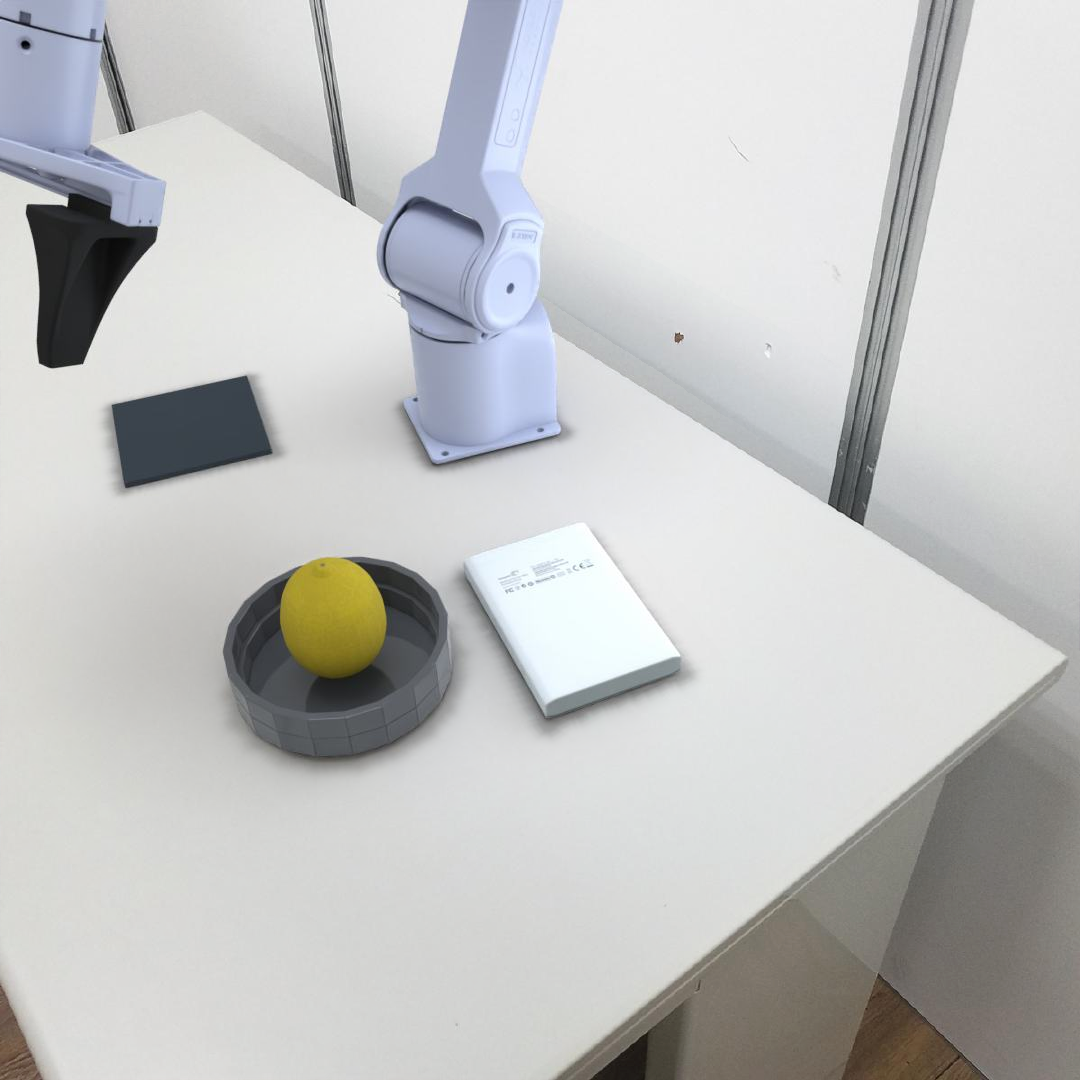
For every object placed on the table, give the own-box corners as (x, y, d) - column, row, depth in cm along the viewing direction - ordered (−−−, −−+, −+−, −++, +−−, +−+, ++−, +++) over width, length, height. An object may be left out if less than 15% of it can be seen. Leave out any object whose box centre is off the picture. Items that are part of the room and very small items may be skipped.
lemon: (376, 714, 60) (356, 609, 54) (279, 699, 60) (250, 595, 55) (406, 639, 64) (390, 535, 58) (314, 627, 64) (290, 523, 59)
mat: (247, 379, 85) (246, 375, 84) (272, 453, 78) (271, 448, 77) (112, 409, 82) (111, 404, 82) (125, 488, 75) (123, 483, 75)
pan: (418, 577, 68) (412, 535, 66) (480, 720, 60) (477, 678, 57) (221, 631, 65) (208, 589, 63) (257, 790, 57) (244, 748, 54)
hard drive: (545, 722, 59) (464, 575, 68) (680, 673, 62) (585, 537, 70) (544, 702, 58) (462, 556, 67) (682, 653, 61) (585, 518, 69)
